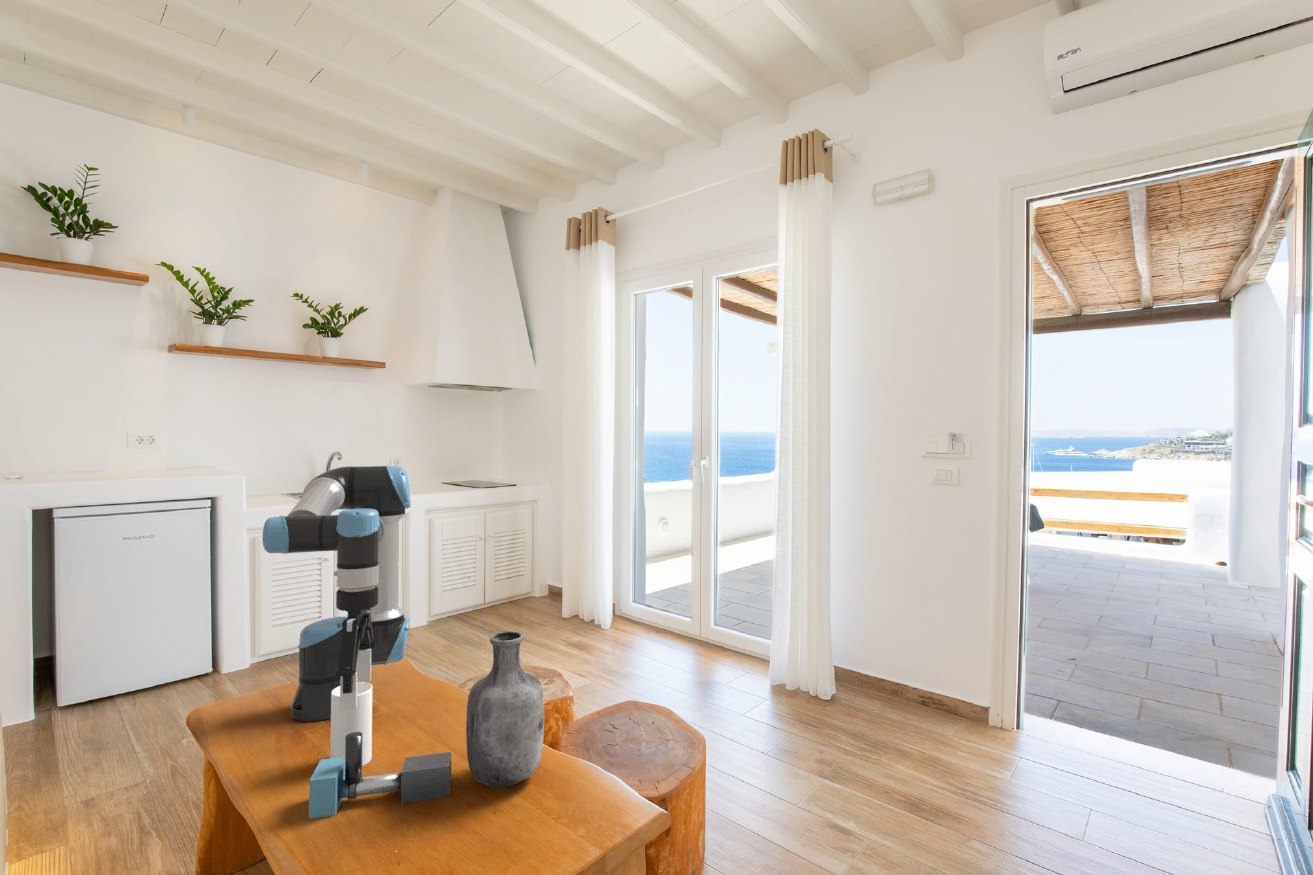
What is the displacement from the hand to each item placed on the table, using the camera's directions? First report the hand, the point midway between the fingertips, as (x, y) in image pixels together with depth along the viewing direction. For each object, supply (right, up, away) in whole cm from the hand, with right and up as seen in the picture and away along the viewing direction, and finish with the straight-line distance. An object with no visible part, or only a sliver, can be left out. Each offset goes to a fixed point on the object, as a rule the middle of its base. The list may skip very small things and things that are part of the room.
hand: (356, 694), depth 120 cm
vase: (+28, -21, +8) cm, 36 cm away
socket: (-5, -21, -2) cm, 21 cm away
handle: (+3, -20, 0) cm, 20 cm away
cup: (-8, -21, +14) cm, 27 cm away
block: (+13, -21, +3) cm, 25 cm away
